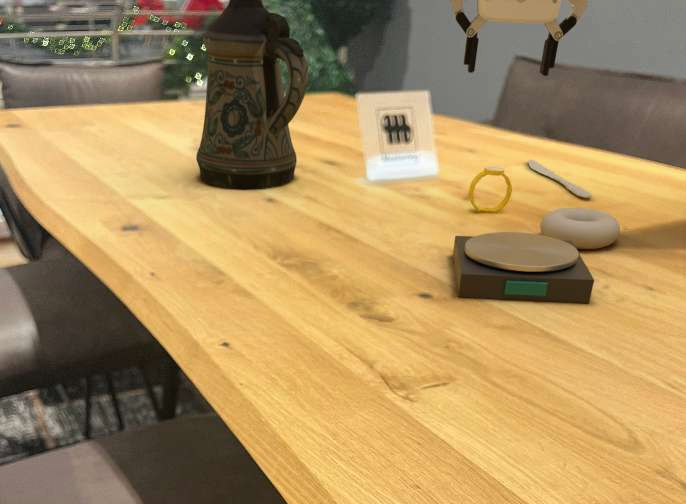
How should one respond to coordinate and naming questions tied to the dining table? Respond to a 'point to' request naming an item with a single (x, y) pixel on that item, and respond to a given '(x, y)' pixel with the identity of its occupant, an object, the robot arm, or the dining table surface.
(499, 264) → the scale pan
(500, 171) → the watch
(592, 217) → the donut
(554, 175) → the butter knife
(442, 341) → the dining table surface
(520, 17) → the robot arm
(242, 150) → the beer stein
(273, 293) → the dining table surface
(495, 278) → the scale
